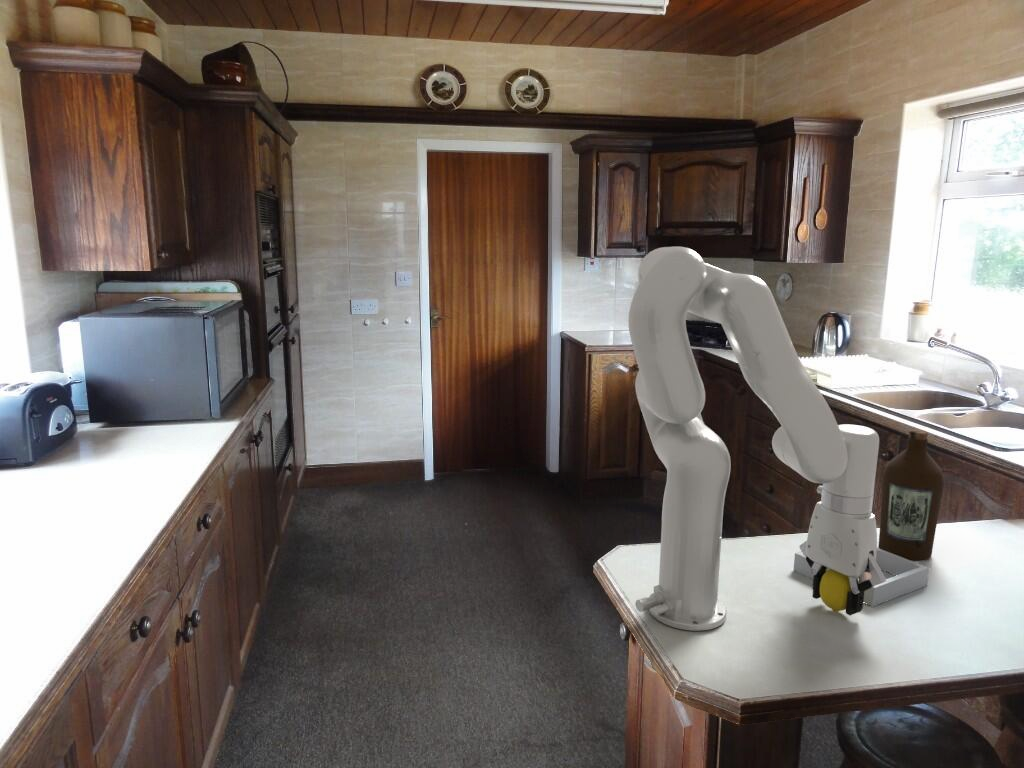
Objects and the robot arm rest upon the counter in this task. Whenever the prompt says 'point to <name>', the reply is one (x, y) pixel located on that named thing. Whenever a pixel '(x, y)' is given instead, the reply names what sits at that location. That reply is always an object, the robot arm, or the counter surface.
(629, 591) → the counter surface
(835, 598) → the lemon
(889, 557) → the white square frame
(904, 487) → the brown glass bottle
